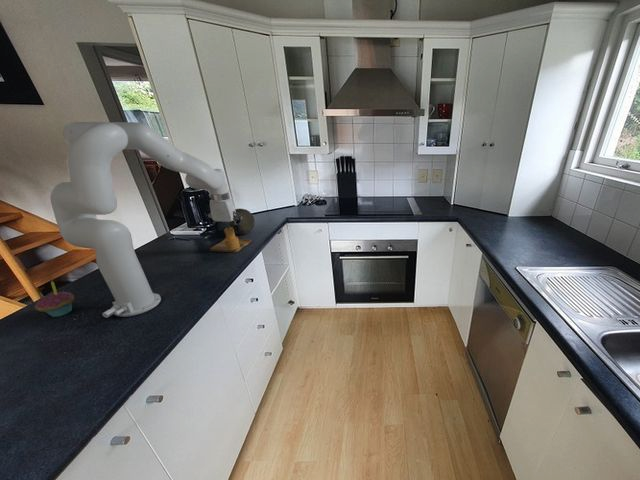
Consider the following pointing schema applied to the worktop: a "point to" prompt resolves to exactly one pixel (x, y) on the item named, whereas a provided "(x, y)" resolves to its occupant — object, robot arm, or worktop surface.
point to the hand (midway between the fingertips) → (228, 231)
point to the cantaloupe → (244, 222)
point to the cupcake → (55, 303)
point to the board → (222, 248)
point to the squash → (231, 239)
